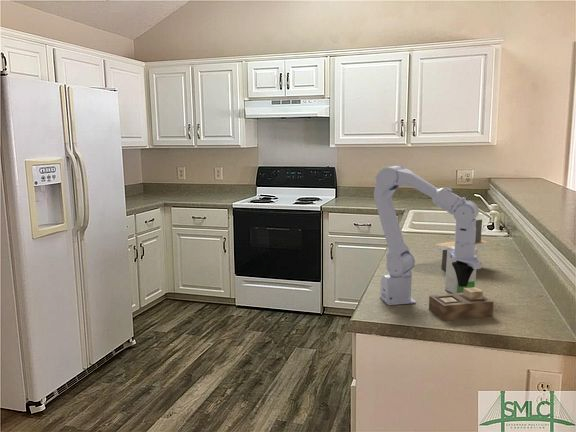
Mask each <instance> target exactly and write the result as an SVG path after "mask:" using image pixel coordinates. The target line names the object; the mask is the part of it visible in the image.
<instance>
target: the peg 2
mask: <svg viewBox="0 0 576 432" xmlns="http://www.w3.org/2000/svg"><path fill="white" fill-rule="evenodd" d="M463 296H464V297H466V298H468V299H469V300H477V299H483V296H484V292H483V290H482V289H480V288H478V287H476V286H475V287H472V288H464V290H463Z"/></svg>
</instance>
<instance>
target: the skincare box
mask: <svg viewBox="0 0 576 432" xmlns="http://www.w3.org/2000/svg"><path fill="white" fill-rule="evenodd" d="M454 248H455V246H448V247H447V262H446V269H445V281H444V290H445V291H447V292H449V294H455V293H463V290H464V288H472V287H476V281H477V279H476V277H477V269H474V271H473V272H472V274H471V276H470V278H469V281H468V284H467V286H465V287H460V286H459V285H458V281H457V276H456V272H455V270H454V267H453V266H452V262H456V261H457V260H455V259H454V258H450V257H449V251H454ZM478 251H479V249H478V248H477V249H476V248H475V255H476V256H478V253H479V252H478Z"/></svg>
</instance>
